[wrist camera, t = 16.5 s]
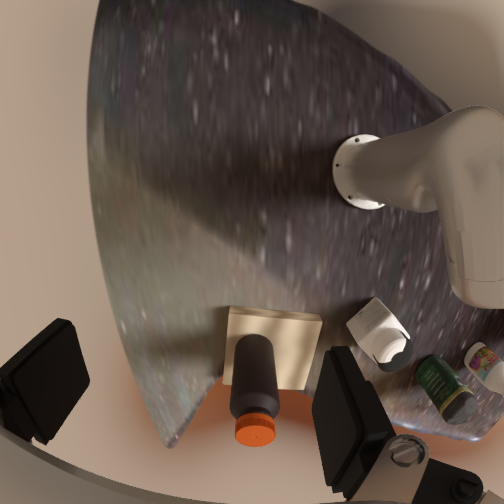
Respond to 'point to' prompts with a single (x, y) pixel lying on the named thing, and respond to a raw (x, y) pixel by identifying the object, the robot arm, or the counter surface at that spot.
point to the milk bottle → (486, 367)
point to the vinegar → (254, 391)
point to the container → (381, 336)
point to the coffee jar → (446, 390)
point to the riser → (276, 341)
